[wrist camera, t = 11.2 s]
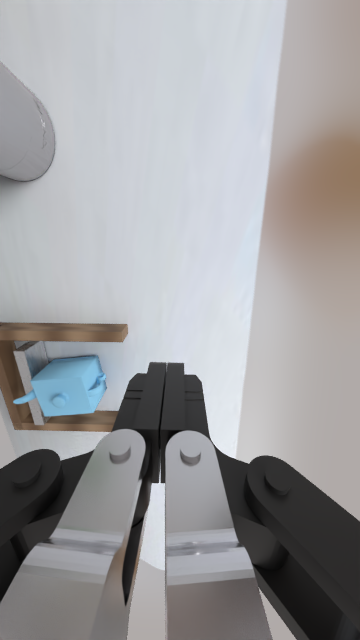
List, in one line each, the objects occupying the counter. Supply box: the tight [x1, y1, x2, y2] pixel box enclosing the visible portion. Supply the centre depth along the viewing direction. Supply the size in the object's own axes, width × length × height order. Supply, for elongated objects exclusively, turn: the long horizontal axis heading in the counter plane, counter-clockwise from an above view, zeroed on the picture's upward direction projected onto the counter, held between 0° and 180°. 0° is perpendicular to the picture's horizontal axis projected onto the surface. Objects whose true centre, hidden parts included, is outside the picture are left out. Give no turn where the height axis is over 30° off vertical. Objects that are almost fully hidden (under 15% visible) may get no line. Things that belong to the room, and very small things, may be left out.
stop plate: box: [13, 341, 51, 425], centre depth 33 cm, size 2×13×4 cm, turn 0°
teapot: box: [13, 356, 107, 416], centre depth 32 cm, size 12×6×8 cm, turn 96°
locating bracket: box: [0, 323, 128, 432], centre depth 34 cm, size 20×18×3 cm
